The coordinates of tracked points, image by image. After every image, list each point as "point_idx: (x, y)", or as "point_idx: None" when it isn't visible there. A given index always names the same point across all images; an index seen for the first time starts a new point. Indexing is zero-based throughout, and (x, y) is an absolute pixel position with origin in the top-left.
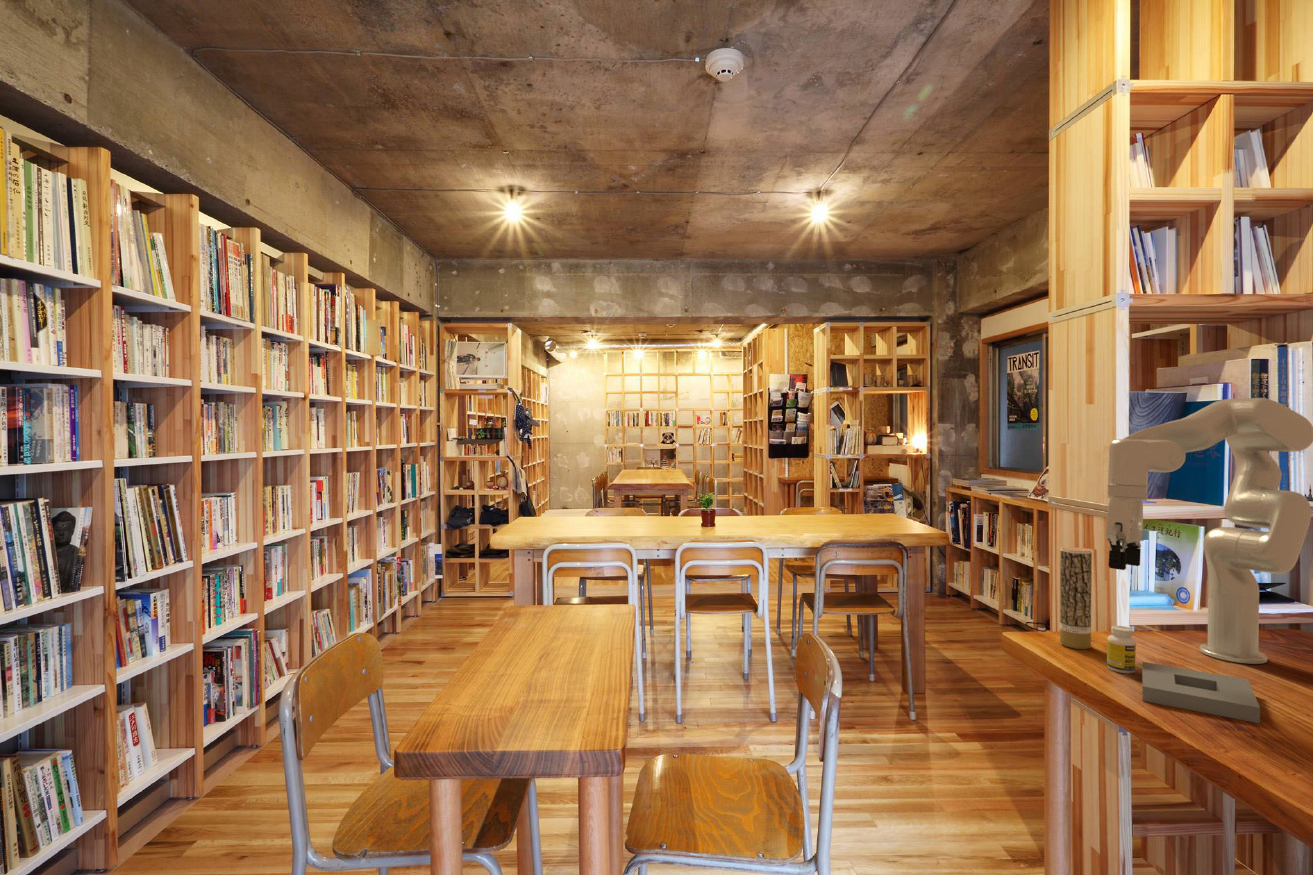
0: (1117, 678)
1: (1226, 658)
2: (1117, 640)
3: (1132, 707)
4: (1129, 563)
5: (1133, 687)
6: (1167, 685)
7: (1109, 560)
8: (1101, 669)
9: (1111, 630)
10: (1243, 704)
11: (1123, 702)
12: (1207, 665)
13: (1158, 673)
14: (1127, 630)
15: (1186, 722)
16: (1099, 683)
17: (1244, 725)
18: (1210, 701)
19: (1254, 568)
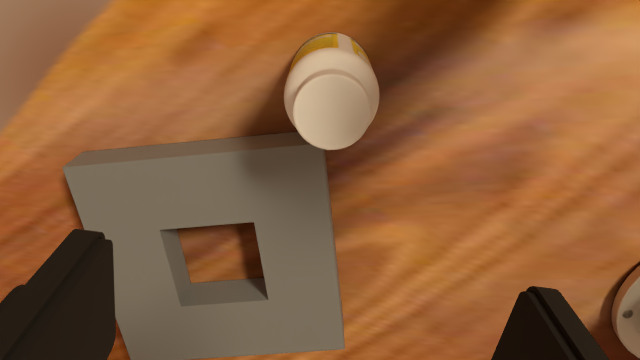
0: (230, 75)
1: (620, 294)
2: (287, 91)
3: (8, 137)
4: (507, 334)
5: (179, 121)
6: (127, 215)
7: (41, 276)
8: (291, 19)
9: (321, 71)
10: (125, 341)
11: (26, 115)
12: (544, 255)
13: (225, 190)
14: (305, 136)
15: (19, 237)
16: (135, 37)
17: None
18: None
19: None
